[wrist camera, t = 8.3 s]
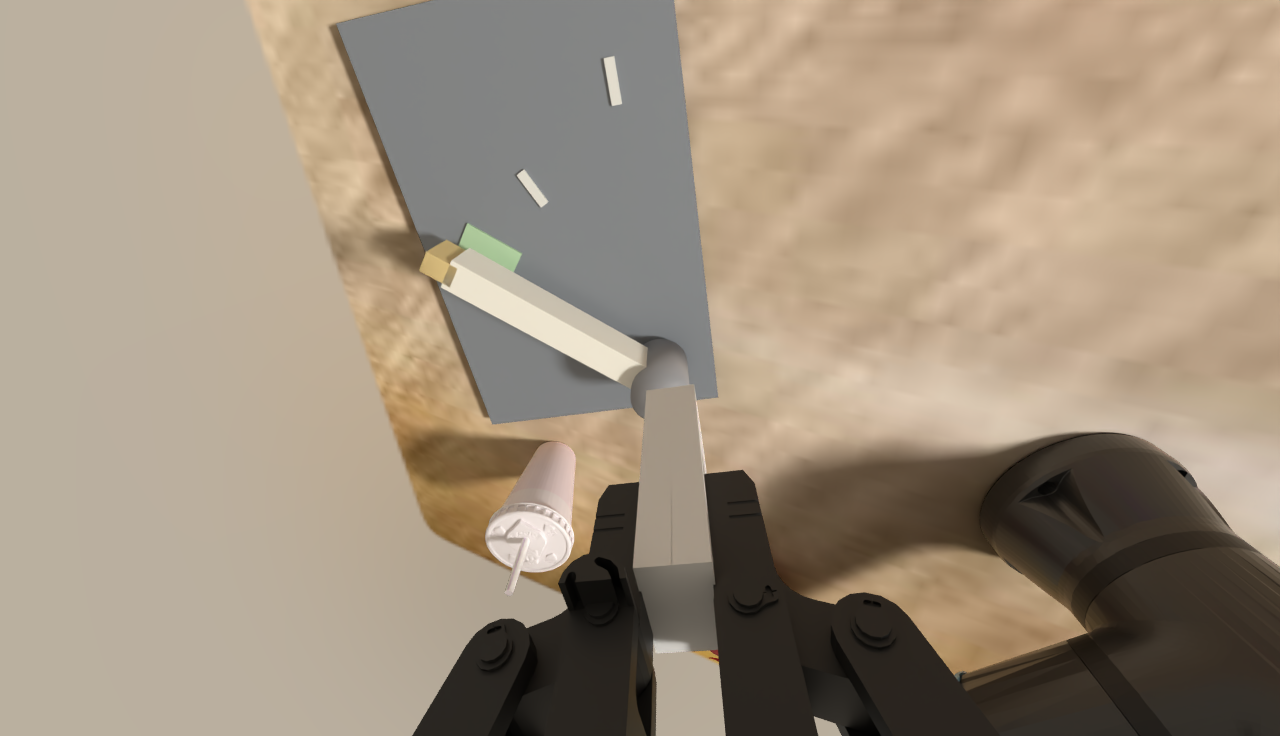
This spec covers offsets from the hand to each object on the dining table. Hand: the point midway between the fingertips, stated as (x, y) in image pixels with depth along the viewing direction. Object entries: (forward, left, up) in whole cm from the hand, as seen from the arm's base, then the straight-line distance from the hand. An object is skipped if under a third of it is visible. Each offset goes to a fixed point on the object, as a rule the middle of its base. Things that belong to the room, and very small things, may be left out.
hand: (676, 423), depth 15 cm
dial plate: (+2, +7, -21) cm, 22 cm away
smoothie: (-17, +13, -21) cm, 30 cm away
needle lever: (-3, +8, -19) cm, 21 cm away
